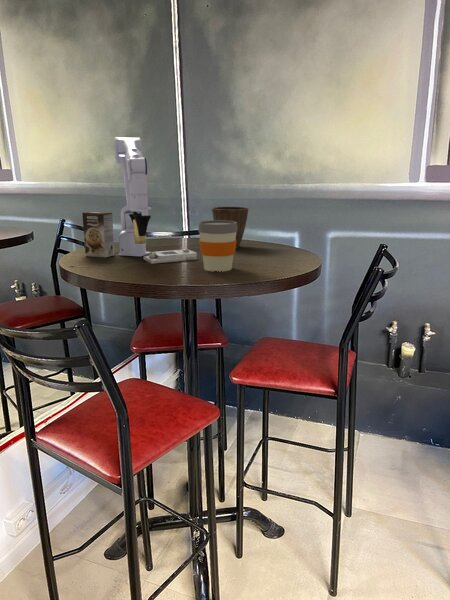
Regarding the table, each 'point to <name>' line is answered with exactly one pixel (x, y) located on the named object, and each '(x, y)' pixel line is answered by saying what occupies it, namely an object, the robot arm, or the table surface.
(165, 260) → the square-hole plate
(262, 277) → the table surface
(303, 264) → the table surface
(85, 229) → the coffee box
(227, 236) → the reusable coffee cup
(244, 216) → the plant pot
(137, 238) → the brass pin
